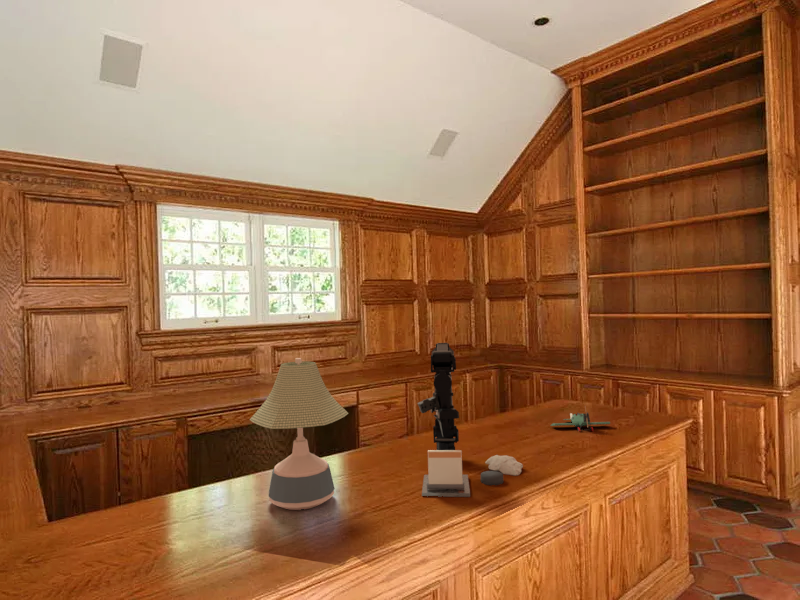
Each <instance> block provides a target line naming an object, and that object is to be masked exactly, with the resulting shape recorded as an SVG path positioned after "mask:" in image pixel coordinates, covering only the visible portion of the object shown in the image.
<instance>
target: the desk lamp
mask: <svg viewBox="0 0 800 600" xmlns="http://www.w3.org/2000/svg"><path fill="white" fill-rule="evenodd" d="M347 415H349V412H348V411H347V410H346V409H345V408H344V407H343V406H342V405H341V404H340V403H339V402H338V401H337V400H336V399H335V398H334V396H333V395H332V394H331V392H330V391H329V389H328V388H327V386H326V384H325V382H324V381H323V378H322V375H321V373H320V370H319V368H318V366H317V363H316V362H314V361H308V360H307V361H306V360H305V361H302V358H301V357H296V358H294V361H290V362H284V363H280V366H279V370H278V373H277V376H276V378H275V381H274V384H273V386H272V389H271V391H270V392H269V394H268V396H267V397H266V399H265V400H264V402H263V403H262V405H261V406H260V407H259V408H258V409H257V410H256V411H255V413H254V414H253V415H252V416H251V417H250V419H249V421H250V422H252V423H253V424H256V425H258V426H260V427H263V428H266V429H270V430H271V429H272V430H274V429H275V430H280V429H281V430H283V429H284V430H286V429H287V430H288V429H297V437H295V439H294V440H293V442H292V450H291V452H292V453H291V454H290V455H288V456H287V457H285V458H284V459H283V460H281V461H280V462H278V463H277V464H276V465H274V468H273V469H272V470H271V471H272V473H271V478H270V484H269V489H268V498H269V499H268V501H269V502H270V503H272V504H273V505H274V506H277V507H280V508H282V509H286V510H290V511H302V510H301V509H304V510H308V509H312V508H316V507H318V506H320V505H322V504H323V503H325V502H327V501H328V500H330V499H331V498H333V497H332V496H333V495H335V489H336V488H335V486H334V485H335V484H334V482H333V476H332V473H331V469H330V468H331V467H330V464H329V463H328V461H327V460H326V459H324V458H321V457H319V456H318V455H316V454H315V453H312V452H310V448H309V441H308V439H307V438H306V437H305V436H304V428H313V427H322V426H327V425H329V424H333V423H334V422H337V421H339V420H341V419H342V418H345V417H346V416H347Z"/></svg>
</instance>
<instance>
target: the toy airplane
mask: <svg viewBox="0 0 800 600" xmlns="http://www.w3.org/2000/svg"><path fill="white" fill-rule="evenodd" d="M584 408H585V411H586V412H585V413H581V412H580V413H579V412H577V413H574V414H573V412H572V413H571V412H570V413H569V416H570V418H564V419H563V421H570V422H557V423H556V422H555V423H554V422H553V423H551V424H550V426H551V427H556V426H558V427H559V426H561V427H562V426H574V425H575V426H574V427H577V432H578V431H580V432H581V430H582V429H581V428H582V427H585V426H586V427H587V428H588V429H585V431H591V430H592V431H593V432H594V427H593V426H591V425H610V424H611V421H594V422H593V421H592V422H591V419H590V414H589V412H588V411H587V408H586V405H584ZM571 422H572V423H571Z"/></svg>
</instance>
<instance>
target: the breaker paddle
mask: <svg viewBox="0 0 800 600" xmlns="http://www.w3.org/2000/svg"><path fill="white" fill-rule="evenodd" d="M462 453H463V451H462V449H461V450H460V449H455V450H437V449H436V450H435V449H434V450H433V449H432V450H431V449H430V450H429V449H428V450H427V469H428V474H427V475H428V476H429V483H427V489H464V483H463V481H462V475H463V460H462V459H463V457H462V455H463V454H462Z"/></svg>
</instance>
